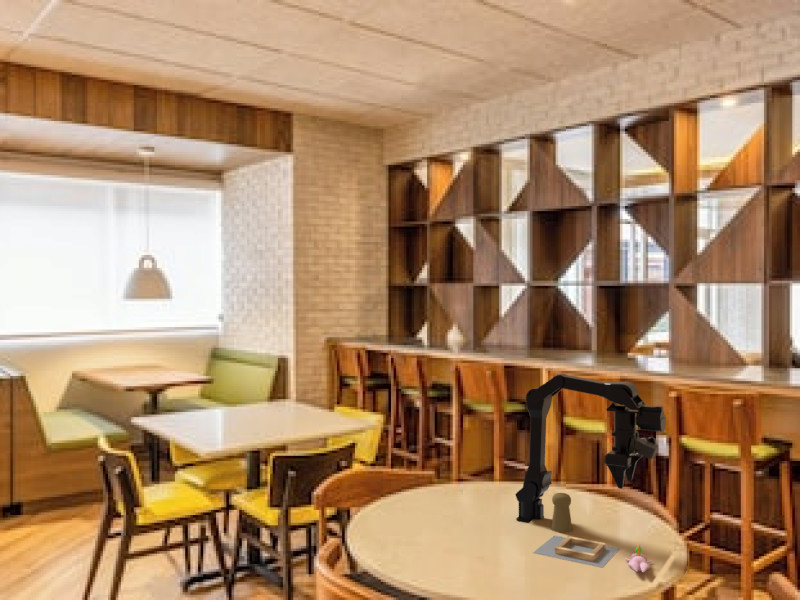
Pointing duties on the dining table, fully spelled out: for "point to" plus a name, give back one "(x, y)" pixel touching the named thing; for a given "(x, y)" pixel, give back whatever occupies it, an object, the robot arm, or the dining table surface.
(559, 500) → the tan tapered cylinder
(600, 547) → the snap socket
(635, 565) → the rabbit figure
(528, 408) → the robot arm
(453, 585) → the dining table surface
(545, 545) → the grey base plate
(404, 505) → the dining table surface
